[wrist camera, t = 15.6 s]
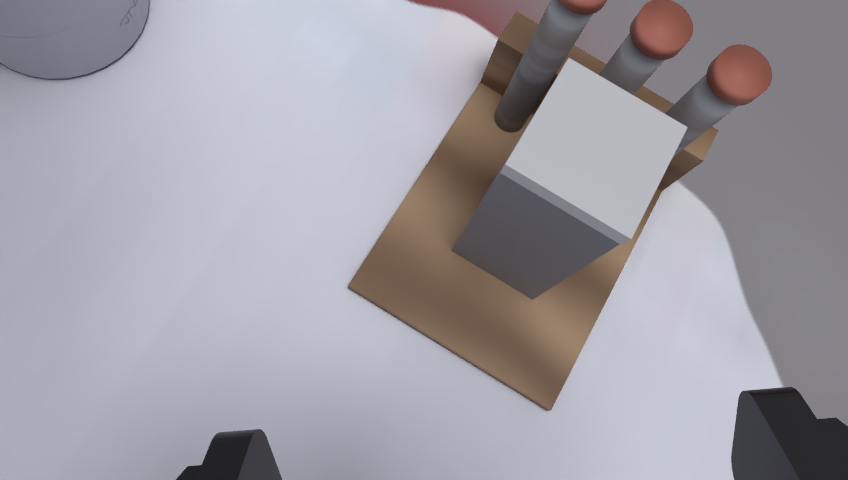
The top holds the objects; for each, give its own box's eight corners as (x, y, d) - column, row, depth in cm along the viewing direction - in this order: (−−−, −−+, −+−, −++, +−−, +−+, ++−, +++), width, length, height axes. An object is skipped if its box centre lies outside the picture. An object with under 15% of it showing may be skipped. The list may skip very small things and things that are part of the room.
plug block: (533, 301, 34) (631, 239, 23) (449, 250, 34) (505, 164, 23) (575, 222, 36) (687, 127, 24) (495, 174, 36) (568, 57, 24)
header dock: (547, 410, 33) (666, 403, 21) (348, 288, 34) (352, 212, 22) (670, 167, 38) (827, 46, 26) (494, 62, 38) (566, -106, 26)
